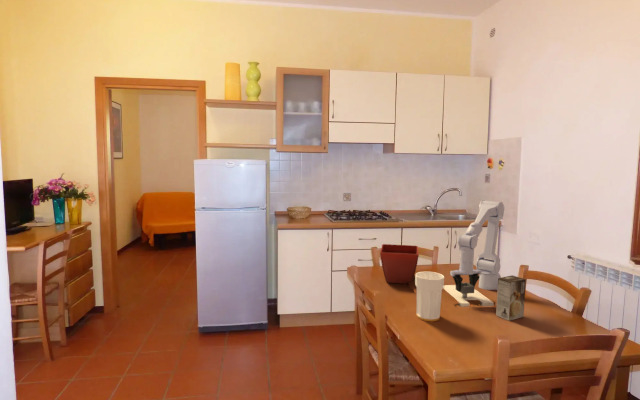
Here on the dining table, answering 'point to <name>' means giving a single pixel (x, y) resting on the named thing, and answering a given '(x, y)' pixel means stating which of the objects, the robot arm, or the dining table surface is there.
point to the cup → (429, 295)
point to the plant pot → (399, 262)
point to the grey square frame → (466, 288)
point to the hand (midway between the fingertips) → (465, 290)
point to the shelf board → (467, 296)
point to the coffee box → (510, 297)
